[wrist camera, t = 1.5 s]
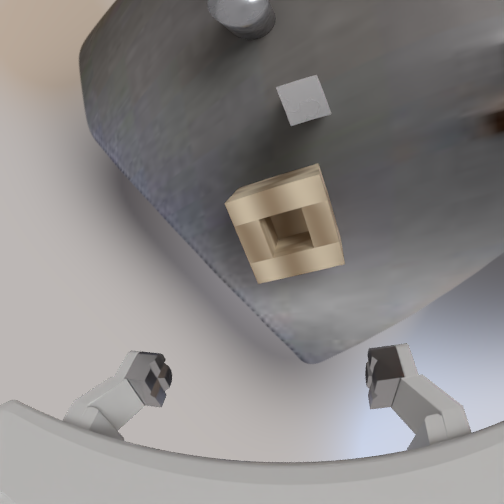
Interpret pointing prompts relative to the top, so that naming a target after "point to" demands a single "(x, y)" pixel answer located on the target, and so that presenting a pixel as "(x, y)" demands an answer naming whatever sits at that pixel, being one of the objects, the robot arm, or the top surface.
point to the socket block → (287, 225)
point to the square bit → (303, 100)
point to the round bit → (244, 16)
